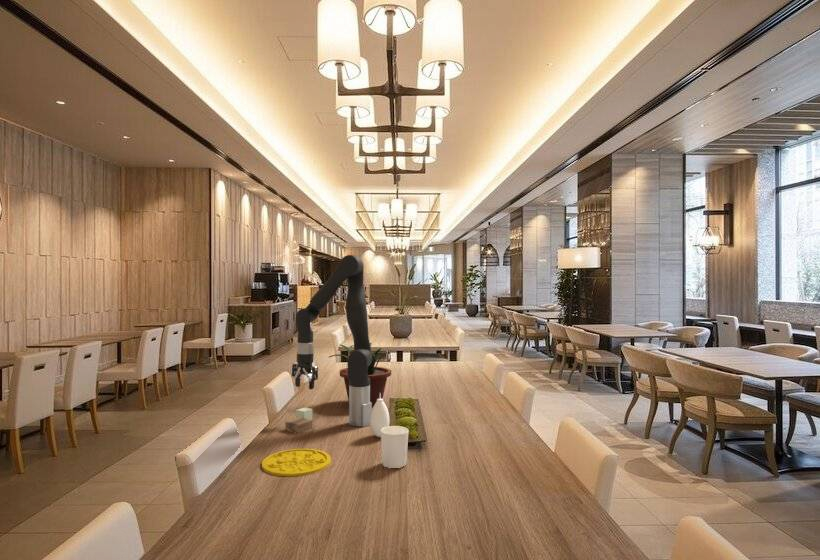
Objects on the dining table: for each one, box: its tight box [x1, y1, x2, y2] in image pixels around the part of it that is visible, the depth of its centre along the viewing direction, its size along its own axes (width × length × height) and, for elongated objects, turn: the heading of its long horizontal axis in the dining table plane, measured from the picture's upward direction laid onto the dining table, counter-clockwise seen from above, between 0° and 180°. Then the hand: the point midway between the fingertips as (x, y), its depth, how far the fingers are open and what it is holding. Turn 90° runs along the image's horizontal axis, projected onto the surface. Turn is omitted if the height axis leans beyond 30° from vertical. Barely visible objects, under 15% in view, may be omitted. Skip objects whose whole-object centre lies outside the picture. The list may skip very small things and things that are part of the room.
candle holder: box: [380, 425, 410, 469], centre depth 168 cm, size 10×10×12 cm
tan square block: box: [284, 417, 314, 434], centre depth 207 cm, size 8×8×4 cm
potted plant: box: [328, 342, 392, 409], centre depth 249 cm, size 35×32×30 cm
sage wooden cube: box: [295, 407, 313, 420], centre depth 220 cm, size 5×5×5 cm
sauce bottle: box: [369, 394, 390, 438], centre depth 198 cm, size 8×8×18 cm
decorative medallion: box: [261, 448, 332, 477], centre depth 169 cm, size 24×24×2 cm
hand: (304, 387), depth 220 cm, fingers open, 8 cm apart
